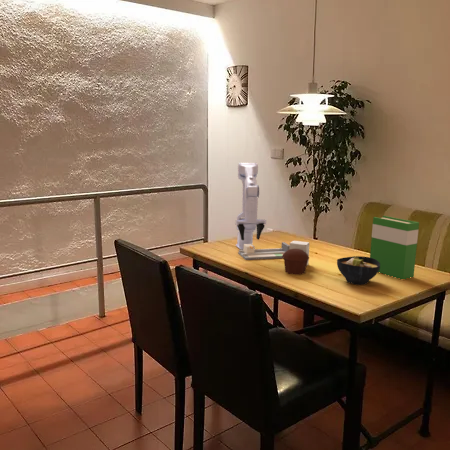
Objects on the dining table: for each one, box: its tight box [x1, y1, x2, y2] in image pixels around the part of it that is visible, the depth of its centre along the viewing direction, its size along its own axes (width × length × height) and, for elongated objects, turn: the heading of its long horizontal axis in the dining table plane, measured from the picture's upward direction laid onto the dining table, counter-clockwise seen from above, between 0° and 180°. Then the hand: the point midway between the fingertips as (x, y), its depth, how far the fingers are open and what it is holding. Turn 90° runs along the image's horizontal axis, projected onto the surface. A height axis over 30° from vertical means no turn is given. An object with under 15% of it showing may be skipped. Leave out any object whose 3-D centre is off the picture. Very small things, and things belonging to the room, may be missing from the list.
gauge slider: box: [243, 244, 256, 253], centre depth 232 cm, size 8×4×4 cm, turn 14°
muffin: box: [282, 249, 310, 276], centre depth 208 cm, size 12×11×10 cm
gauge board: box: [238, 241, 290, 261], centre depth 234 cm, size 12×24×5 cm, turn 104°
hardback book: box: [369, 215, 420, 280], centre depth 208 cm, size 18×7×24 cm, turn 34°
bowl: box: [336, 255, 380, 286], centre depth 196 cm, size 17×17×10 cm
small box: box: [289, 240, 310, 266], centre depth 219 cm, size 8×6×10 cm
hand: (250, 239), depth 226 cm, fingers open, 7 cm apart
